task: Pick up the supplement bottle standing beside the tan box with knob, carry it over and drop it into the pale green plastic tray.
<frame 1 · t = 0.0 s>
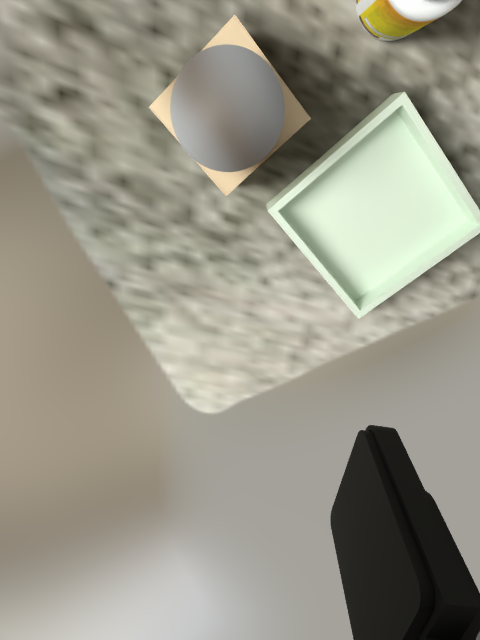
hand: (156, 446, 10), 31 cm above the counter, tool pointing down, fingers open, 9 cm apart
tray: (369, 211, 38), on the counter
tan box with knob: (233, 114, 35), on the counter
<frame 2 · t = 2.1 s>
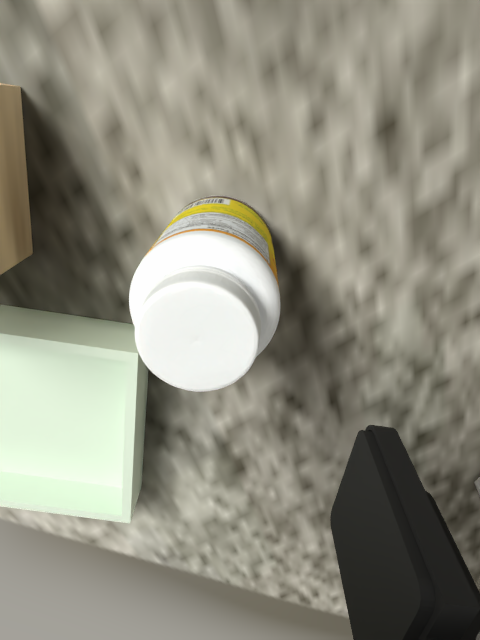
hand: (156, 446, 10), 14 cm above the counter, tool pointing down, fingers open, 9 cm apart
tray: (44, 401, 27), on the counter
supplement bottle: (221, 245, 23), on the counter
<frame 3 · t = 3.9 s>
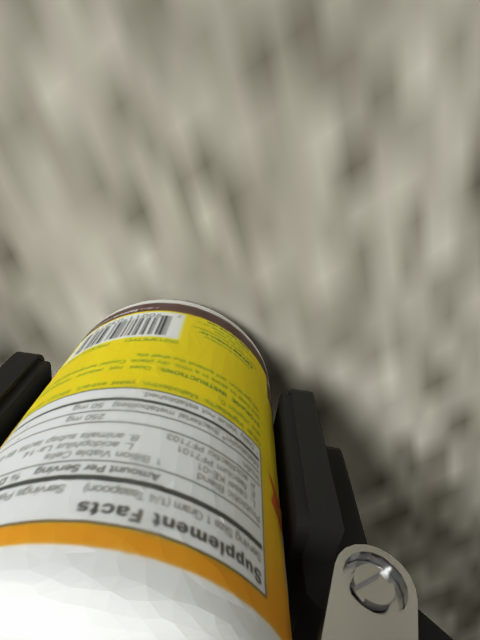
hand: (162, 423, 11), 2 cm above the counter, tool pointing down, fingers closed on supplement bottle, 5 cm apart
supplement bottle: (177, 374, 13), on the counter, touching gripper
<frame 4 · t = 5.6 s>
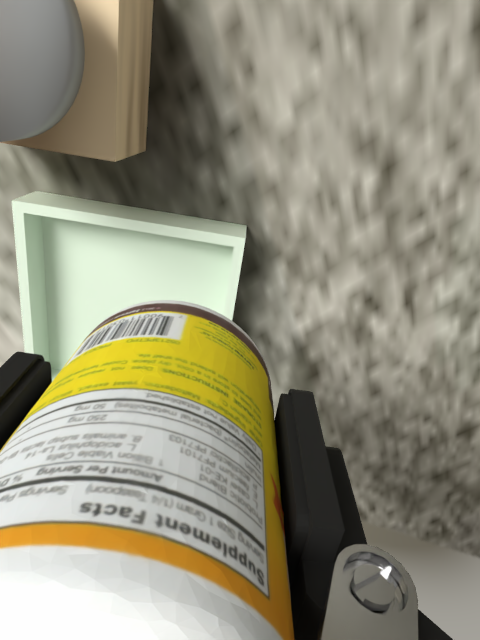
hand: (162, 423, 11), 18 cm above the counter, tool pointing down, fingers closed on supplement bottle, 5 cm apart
tray: (137, 303, 29), on the counter
tan box with knob: (76, 60, 23), on the counter
supplement bottle: (178, 375, 13), point 16 cm above the counter, touching gripper
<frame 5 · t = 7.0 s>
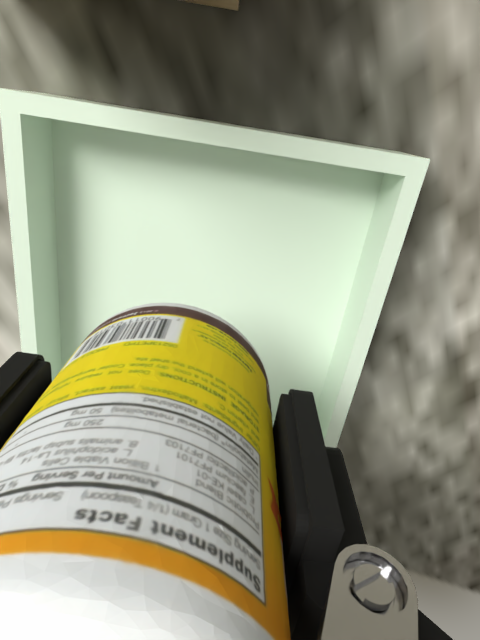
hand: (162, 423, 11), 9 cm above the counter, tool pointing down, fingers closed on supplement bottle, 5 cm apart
tray: (204, 288, 18), on the counter
supplement bottle: (176, 377, 13), point 7 cm above the counter, touching gripper
when the fingers open (5 cm above the counter, at t = 7.8 s): supplement bottle drops 2 cm, resting on tray.
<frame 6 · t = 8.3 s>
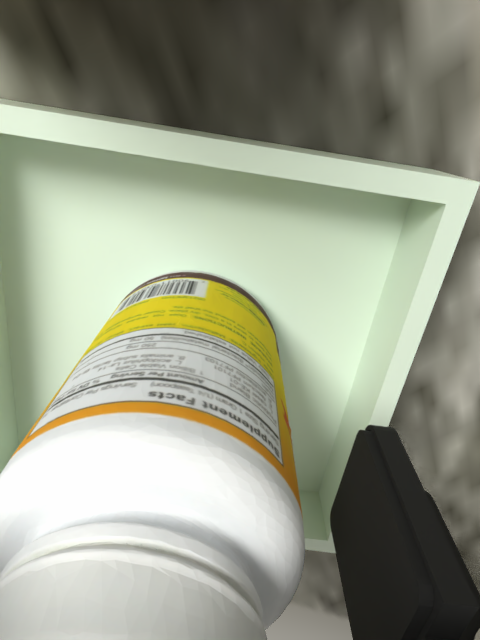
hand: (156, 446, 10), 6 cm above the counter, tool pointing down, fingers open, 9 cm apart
tray: (188, 332, 15), on the counter
supplement bottle: (196, 338, 15), point 1 cm above the counter, touching tray
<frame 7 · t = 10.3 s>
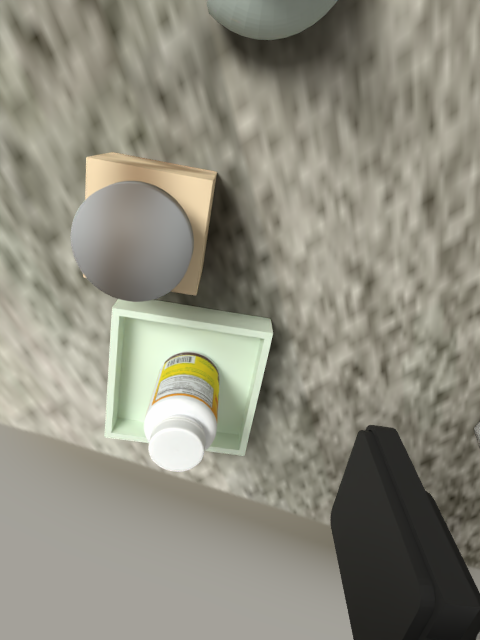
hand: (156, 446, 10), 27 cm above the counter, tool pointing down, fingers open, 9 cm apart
tray: (187, 370, 40), on the counter
tan box with knob: (159, 214, 34), on the counter
supplement bottle: (190, 373, 39), point 1 cm above the counter, touching tray
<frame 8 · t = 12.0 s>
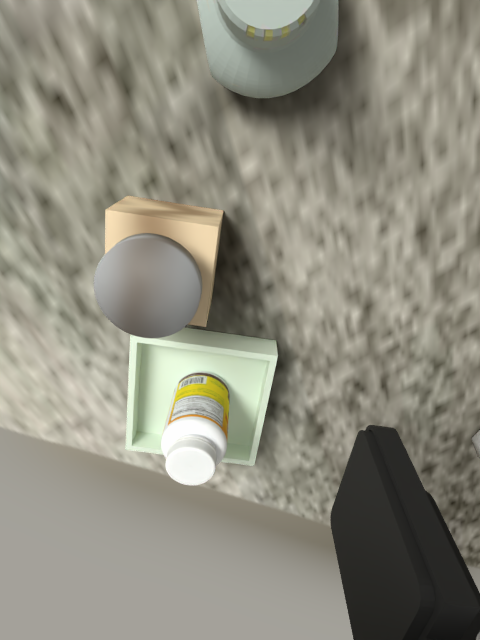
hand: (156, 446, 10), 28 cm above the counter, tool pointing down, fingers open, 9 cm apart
tray: (200, 387, 43), on the counter
air freshener: (263, 12, 30), on the counter
tan box with knob: (172, 249, 37), on the counter
supplement bottle: (203, 390, 42), point 1 cm above the counter, touching tray
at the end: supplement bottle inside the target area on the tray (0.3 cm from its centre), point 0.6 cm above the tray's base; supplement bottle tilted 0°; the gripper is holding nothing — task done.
